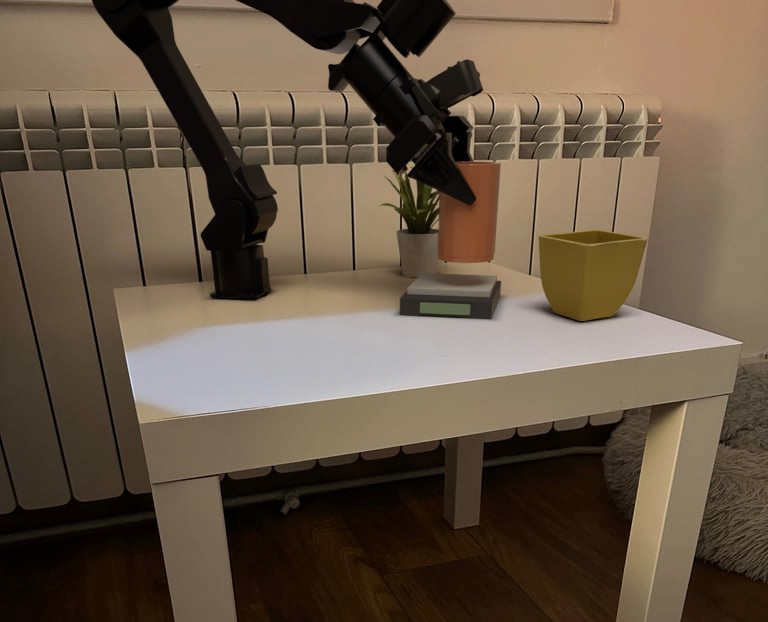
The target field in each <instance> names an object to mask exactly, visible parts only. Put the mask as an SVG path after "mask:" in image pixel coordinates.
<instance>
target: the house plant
mask: <svg viewBox="0 0 768 622" xmlns="http://www.w3.org/2000/svg"><path fill="white" fill-rule="evenodd" d="M413 167H414V166H409V168H410V169H412V168H413ZM391 172H392V173H393V175H394V176H395V179H396V181H397V184H398V186H399V188H398V187H397V186H396V184H395V183H393V181H392V180H391V179H389V178H388V177H387V176H386V175H384V174H382V176H383V177H384V178H385V180H387V181H388V182H389V183H390V185H391V186H392V188H393V189H394V190H395V191H396V192H397V194H398V195H399V197H400V198H401V201H402V207H398V206H396V205H395V204H393V203H389V202H384V203H381V204H380V205H379V207H390V208H393V210H394V211H396V212H397V214H399V215H400V216H401V218H402V219H403V221H404V222H405V225H406V228H402V229H398V230H396V239H397V245H398V252H399V253H398V254H399V260H400V266H401V273H402V276H404V277H408V278H415V279H417V278H418V277H419V276H420V275H421V274H422V273H432V274H438V267H439V262H440V260H439V259H438V228H433V227H434V226H435V225H436V224H437V222H439V218H437V217H438V216H439V191H438V190H436V191H433V189H434V188H432V187H430V186H428V185H425V184H423V183H421V182H419V181H417V180H415V182H416V202H415V197H414V192H413V190H412V187H411V181H410V178H409V177H408V176H407V174H408V172H405V173H404V177H402V176H401V174H399V175H397V174H396V172H395V171H394V170H393V169H391ZM432 191H433V192H432ZM437 206H438V207H437ZM436 207H437V208H436ZM435 220H436V221H435Z"/></svg>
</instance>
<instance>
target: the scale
mask: <svg viewBox="0 0 768 622" xmlns="http://www.w3.org/2000/svg"><path fill="white" fill-rule="evenodd" d="M406 289H407V290H406V291H405V292H404V293H403V294H402V295H401V296H400V297H399V315H400V316H418V317H419V316H420V317H438V318H439V317H440V318H460V319H461V318H462V319H483V320H484V319H485V320H486V319H487V320H491V319H492V318H493V315H494V313H495V310H496V308H497V306H498V303H499V300H500V298H501V290H502V280H498V275H493V274H491V275H488V274H487V275H486V274H459V273H437V274H432V273H422V274H421V275H420V276H419V277H418V278H415V279H414V280H413V281H412V282H411V284H410V285H408V286H407V287H406Z"/></svg>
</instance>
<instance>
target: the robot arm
mask: <svg viewBox="0 0 768 622" xmlns="http://www.w3.org/2000/svg"><path fill="white" fill-rule="evenodd" d="M179 1H180V0H91V2H92V5H93V7H94V9H95V11H96V13H97V14H98V15H99V17H100V18H101V19H102V20H103V22H104V23H105V25H106V26H107V27H108V28H109V30H110V31H111V32H112V34H113V35H114V36H115V37H116V38H117V39H118V40H119V41H120V42H121V43H123V45H125V46H126V47H127V48H128V49H129V50H130V51H131V52H132V53H133V54H134V55H135V56H136V57H137V58H138V59H139V61H141V63H142V65H143V67H144V69H145V70H146V72H147V74H148V76H149V78H150V79H151V81H152V83H153V84H154V86H155V88H156V90H157V92H158V93H159V95H160V97H161V99H162V100H163V102H164V104H165V105H166V107H167V109H168V111H169V112H170V114H171V116H172V118H173V120H174V121H175V123H176V125H177V126H178V128H179V130H180V132H181V133H182V135H183V137H184V139H185V140H186V143H187V144H188V146H189V148H190V149H191V151H192V153H193V154H194V156H195V158H196V160H197V161H198V163H199V165H200V167H201V169H202V171H203V173H204V175H205V181H206V189H207V195H208V200H209V203H210V205H211V208H212V210H213V212H214V215H213V217H212V218H211V220H210V221H209V222H208V223H207V224H206V225H205V227H204V228H203V230H202V231H201V232H200V233H199V235H200V238H201V241H202V243H203V245H204V248H205V250H206V251H209V252H210V259H211V268H212V276H213V285H214V291H212V292H210V293H209V297H210V298H216V299H218V298H219V299H241V300H255V299H258V298H260V297H262V296H263V295H265V294H267V293H269V292H270V291H272V286H271V284H270V283H271V282H270V271H269V259H268V257H267V256H265V252H264V245H263V243H266V240H267V236H268V233H269V230H270V229H271V228H272V227H273V226H274V224H275V221H277V217H278V216H277V215H278V211H279V208H278V202H277V200H276V198H275V195H277V194H278V192H277V190H275V189H274V187H272V185H271V184H270V181H268V178H267V176H266V172H265V170H264V169H263V166H262V165H261V164H260V163H253V164H246V163H245V162H244V161H243V160H242V159H241V158H240V157H239V155H238V154H237V152H236V151H235V149H234V147H233V145H232V144H231V142H230V139H229V138H228V136H227V135H226V133H225V130H224V129H223V127H222V125H221V123H220V122H219V120H218V118H217V116H216V115H215V114H216V113H214V111H213V109H212V107H211V104H210V103H209V102H208V100H207V98H206V96H205V94H204V93H203V91H202V89H201V87H200V86H199V83H198V82H197V79H196V78H195V77H194V74H193V72H192V71H191V69H190V67H189V65H188V63H187V62H186V59H185V58H184V56H183V55H182V52H181V51H180V49H179V47H178V45H177V42H176V39H175V38H176V37H175V31H174V23H173V17H172V14H171V11H170V10H169V9H170V8H171V7H172V6H174V5H176V4H177V3H178V2H179ZM235 1H236V2H238V3H240V4H243V5H245V6H247V7H249V8H251V9H254V10H257V11H259V12H261V13H264V14H266V15H268V16H269V17H271V18H273V19H274V20H276V21H277V22H278V23H279V24H281V26H283V27H284V28H285V29H286V30H288V31H289V32H290V33H291V34H293V35H295V37H297V38H299V39H300V40H302V41H303V42H305V43H306V44H308V45H309V46H310V47H312V48H314V49H316V50H318V51H324V52H328V53H332V54H335V55H344V57H343V58H342V60H340V62H338V63H329V64H327V69H328V81H327V82H328V83H327V89H328V90H329V91H331V92H335V93H339V94H340V93H343V92H344V91H345V90H346V88H347V87H348V86H350V87H351V89H352V90H353V91H354V92H355V93H356V94H357V95H358V97H359V98H360V100H362V102H363V103H364V104H365V105H366V106H367V108H368V109H369V110H370V111H371V112H372V114H374V117H373V119H372V121H373V122H374V123H375V124H376V125H377V126H378V127H384V128H385V129H386V130H387V132H389V133H390V135H391V136H392V137H393V139H392V140H391V142H390V143H389V144H388V145H387V146H386V148H385V162H386V163H387V164H388V165H389V167H390V168H391V170H394V171H395V172H396V174H397V175H403V174H404V175H405V173H407V176H408V178H409V179H412V180H415V181H416V180H417V181H419V182H421V183H423V184H425V185H428V186H430V187H432V188H433V189H434V190H436V191H437V190H438V191H440V192H442V193H444V194H446V195H448V196H450V197H453V198H455V199H457V200H459V201H461V202H463V203H465V204H467V205H469V206H470V205H472V204H473V203H474V202H475V201H476V199H477V198H476V196H475V194H474V192H473V190H472V189H471V187H470V185H469V183H468V182H467V180H466V178H465V177H464V175H463V173H462V172H461V170H460V168H459V167H458V165H457V163H456V162H461V161H474V159H473V156H472V154H471V142H472V138H473V130H474V126H473V125H472V124H471V122H470V121H469V120H468V119H467V118H466V116H464V115H451V114H452V112H451V110H450V109H449V108H452V107H454V106H455V105H457V104H459V103H461V102H463V101H465V100H466V99H468V98H471V97H473V98H474V97H476V96H478V95H480V94H481V93H483V92H484V88H483V84H482V81H481V79H480V78H481V73H480V72H479V71H478V70H477V67H476V64H475V62H474V60H471V59H468V58H467V59H462V60H458V61H456V63H455V64H454V65H452V66H450V65H449V66H447V67H446V69H445V70H443V71H442V72H440V73H438V74H436V75H434V76H433V77H431V78H430V79H429V80H427V81H425V80H424V79H422V78H415V77H414V76H413V75H412V74H411V73H410V72H409V71H408V69H407V68H406V67H405V66H404V65H403V63H402V62H401V61H400V59H398V57H397V56H396V55H395V54H394V52H393V51H392V50H391V48H390V47H389V46H388V45H387V44H386V42H385V39H387V41H388V42H389V43H390V45H392V47H393V48H394V49H395V50H396V51H397V52H398V53H399V54H400V55H401V56H402V57H403V58H404V59H408V58H409V56H410V54H412V55H413V56H416V57H418V58H421V57H422V55H423V54H424V53H425V52H426V51H427V49H428V48H429V47H430V46H431V44H432V43H433V42H434V41H435V40H436V38H437V37H438V36H439V35H440V34H441V32H442V31H443V30H444V29H445V28H446V26H448V25H449V23H450V22H451V20H452V19H453V18H454V17H455V15H456V14H457V13H456V11H455V10H454V9H453V7H452V6H451V5H450V4H449V2H448V1H447V0H380V2H379V3H378V5H377V6H374V5H371V4H369V2H366V1H364V2H363V3H357V2H355V0H235ZM366 38H367V39H366ZM362 39H366V40H365V41H364V42H363V43H362V44H359V43H358V42H359V41H360V40H362ZM410 162H412V163H413V164H414V166H412V167H413V168H410V171H408V170H409V168H408V166H407V165H408V164H409V163H410Z"/></svg>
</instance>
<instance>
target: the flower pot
mask: <svg viewBox="0 0 768 622" xmlns="http://www.w3.org/2000/svg"><path fill="white" fill-rule="evenodd" d="M647 242H648V237H644V236H639V235H633V234H626V233H622V232H621V233H620V232H615V231H609V230H602V229H586V230H578V231H569V232H560V233H559V232H558V233H557V232H556V233H547V234H539V235H538V251H539V271H540V273H539V274H540V280H541V287H542V289H543V292H544V295H545V298H546V300H547V303H548V305H549V306H550V308H551V309H552V312H554V314H557V315H560V316H564V317H567V318H570V319H571V320H576V321H579V322H587V321H590V320H597V319H603V318H609V317H613V316H614V315H615V314H616V313H617V312H618V311H619V310H620V309H621V308H622V306H623V304H624V303H625V302H626V300H627V299H628V297H629V296H630V294H631V292H632V290H633V288H634V286H635V284H636V282H637V278H638V275H639V271H640V268H641V264H642V261H643V256H644V254H645V249H646V247H647Z"/></svg>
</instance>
